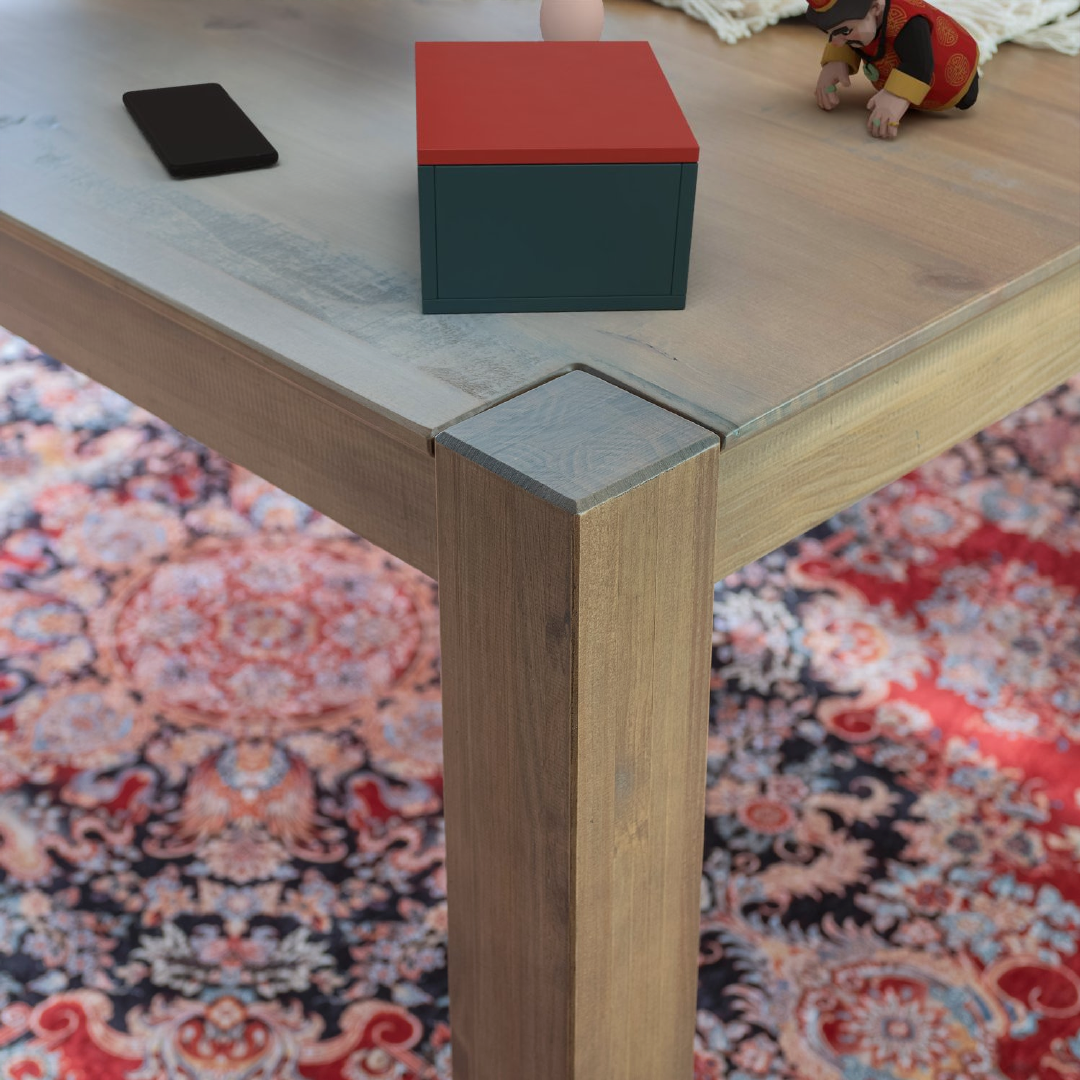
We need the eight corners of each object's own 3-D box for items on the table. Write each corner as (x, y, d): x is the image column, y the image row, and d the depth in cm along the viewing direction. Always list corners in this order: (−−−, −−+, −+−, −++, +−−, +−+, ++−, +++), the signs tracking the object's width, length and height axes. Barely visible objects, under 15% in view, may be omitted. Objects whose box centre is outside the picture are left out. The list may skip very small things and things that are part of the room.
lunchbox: (419, 189, 83) (415, 59, 79) (640, 187, 84) (649, 58, 80) (422, 314, 70) (417, 166, 65) (685, 309, 71) (698, 163, 66)
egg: (553, 73, 102) (555, -21, 98) (529, 54, 106) (530, -37, 102) (612, 66, 104) (617, -26, 100) (586, 48, 107) (590, -42, 103)
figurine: (860, 144, 102) (722, 67, 93) (920, 20, 100) (785, -72, 91) (952, 177, 95) (813, 97, 86) (1020, 43, 93) (885, -54, 83)
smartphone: (219, 81, 96) (280, 152, 85) (220, 93, 97) (282, 166, 86) (119, 91, 94) (169, 167, 83) (121, 103, 94) (171, 180, 83)
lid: (415, 55, 79) (414, 41, 79) (647, 54, 80) (648, 40, 80) (417, 165, 65) (416, 149, 65) (698, 162, 66) (700, 146, 66)
